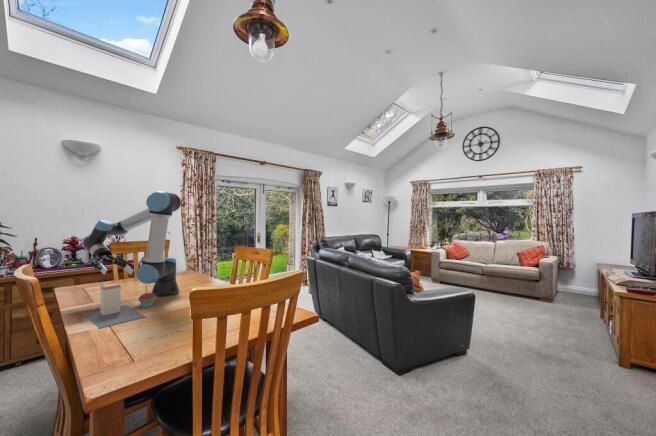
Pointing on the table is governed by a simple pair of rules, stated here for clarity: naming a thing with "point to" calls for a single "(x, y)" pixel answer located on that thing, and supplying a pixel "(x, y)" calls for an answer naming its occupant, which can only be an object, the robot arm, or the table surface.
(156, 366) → the table surface
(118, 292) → the tall block
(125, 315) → the mat
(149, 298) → the cupcake
